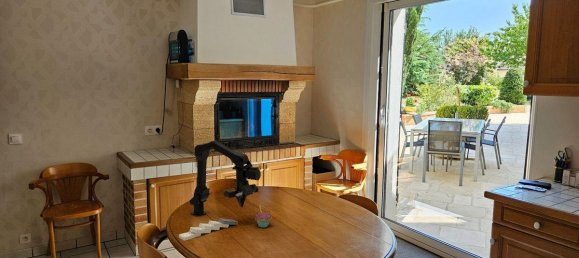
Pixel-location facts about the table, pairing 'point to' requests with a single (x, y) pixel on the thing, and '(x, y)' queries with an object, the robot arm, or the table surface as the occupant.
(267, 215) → the cupcake
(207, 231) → the domino
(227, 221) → the grey domino block
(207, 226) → the domino
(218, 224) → the domino
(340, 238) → the table surface
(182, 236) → the domino
